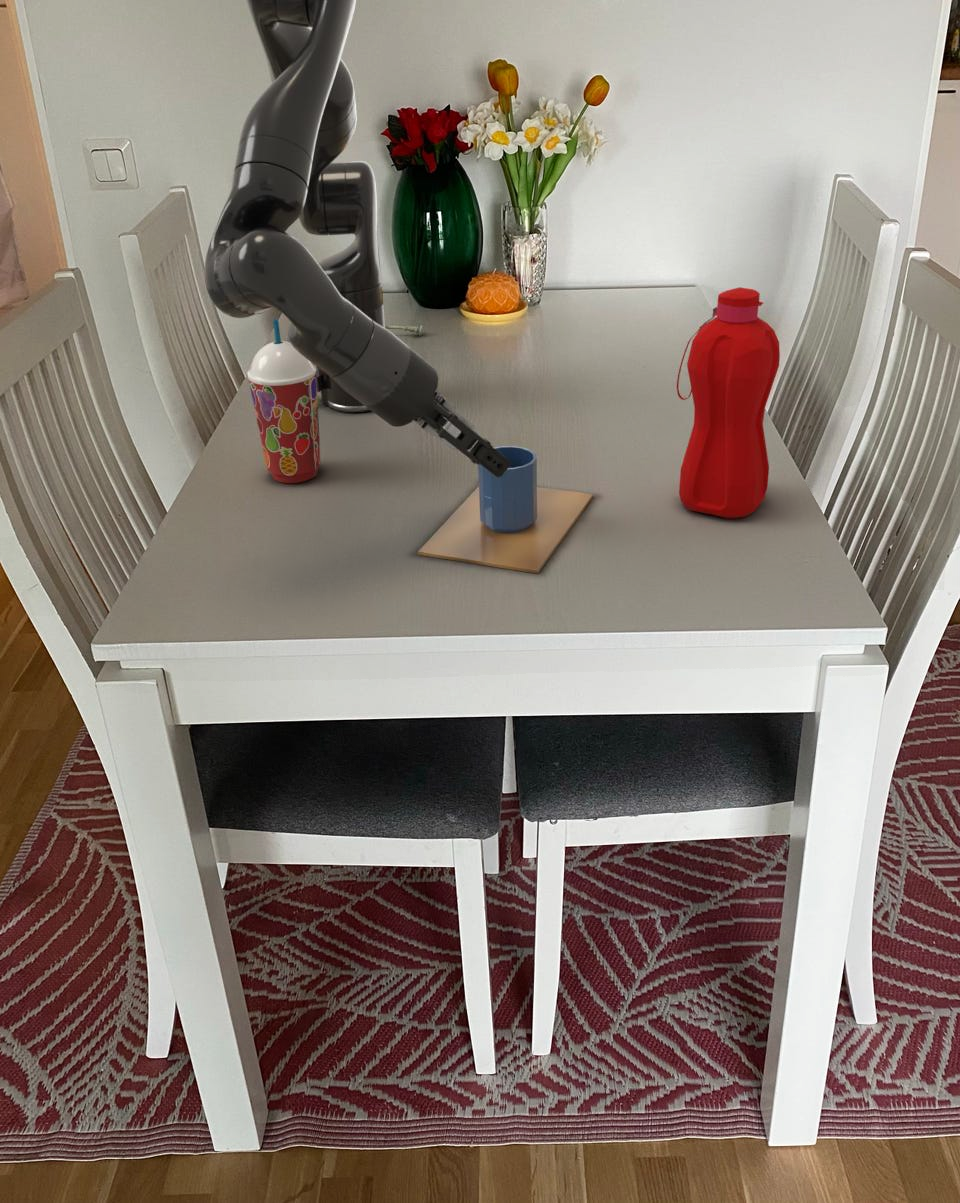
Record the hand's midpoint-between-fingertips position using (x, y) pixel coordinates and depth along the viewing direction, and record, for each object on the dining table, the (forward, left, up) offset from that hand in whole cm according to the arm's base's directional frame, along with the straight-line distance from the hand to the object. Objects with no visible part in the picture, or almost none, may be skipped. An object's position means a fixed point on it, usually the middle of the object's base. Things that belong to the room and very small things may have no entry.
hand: (488, 455), depth 127 cm
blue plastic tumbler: (+2, +2, -9) cm, 9 cm away
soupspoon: (-48, +61, -9) cm, 78 cm away
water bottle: (+23, +15, -9) cm, 28 cm away
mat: (+2, +2, -9) cm, 9 cm away
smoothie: (-29, +7, -9) cm, 31 cm away
